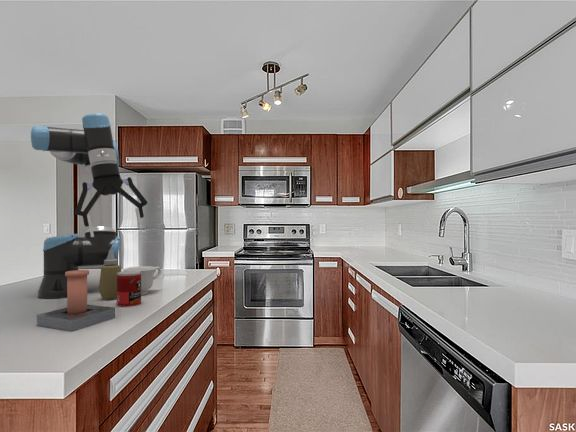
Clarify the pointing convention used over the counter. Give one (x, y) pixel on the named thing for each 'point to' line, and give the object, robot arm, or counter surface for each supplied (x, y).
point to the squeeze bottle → (109, 277)
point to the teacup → (145, 276)
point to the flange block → (75, 318)
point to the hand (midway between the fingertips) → (117, 232)
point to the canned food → (128, 288)
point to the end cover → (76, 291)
